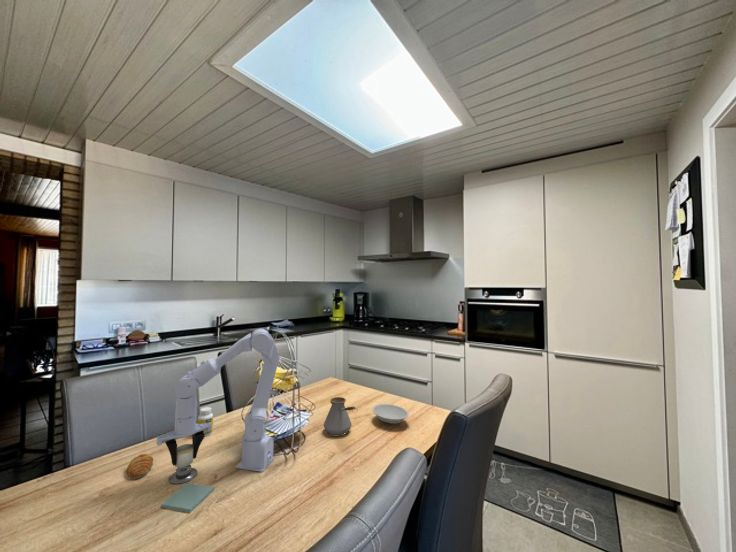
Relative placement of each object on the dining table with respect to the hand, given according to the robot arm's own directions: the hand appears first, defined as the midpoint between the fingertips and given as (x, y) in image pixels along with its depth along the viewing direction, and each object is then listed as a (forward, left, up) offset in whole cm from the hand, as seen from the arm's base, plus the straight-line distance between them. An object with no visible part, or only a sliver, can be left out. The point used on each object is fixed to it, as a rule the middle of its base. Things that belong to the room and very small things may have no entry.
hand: (184, 460), depth 93 cm
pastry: (+16, 0, -5) cm, 16 cm away
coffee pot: (-41, -35, -5) cm, 54 cm away
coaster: (-9, +8, -5) cm, 13 cm away
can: (0, 0, -1) cm, 1 cm away
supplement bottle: (+13, -25, -5) cm, 29 cm away
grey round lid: (0, 0, -5) cm, 5 cm away
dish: (-58, -52, -5) cm, 78 cm away
